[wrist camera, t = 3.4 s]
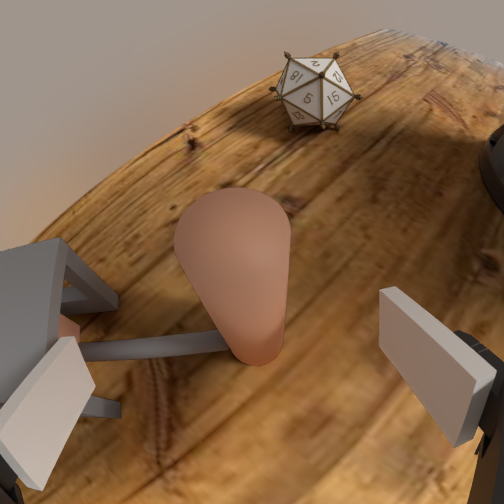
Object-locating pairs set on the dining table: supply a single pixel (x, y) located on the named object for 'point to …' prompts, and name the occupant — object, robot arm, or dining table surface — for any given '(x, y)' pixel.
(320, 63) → the game die
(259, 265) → the block
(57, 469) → the dining table surface
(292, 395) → the dining table surface
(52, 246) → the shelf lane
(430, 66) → the dining table surface
